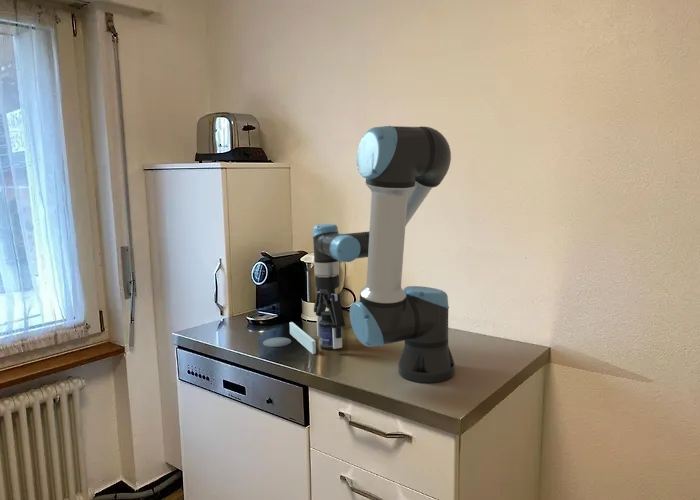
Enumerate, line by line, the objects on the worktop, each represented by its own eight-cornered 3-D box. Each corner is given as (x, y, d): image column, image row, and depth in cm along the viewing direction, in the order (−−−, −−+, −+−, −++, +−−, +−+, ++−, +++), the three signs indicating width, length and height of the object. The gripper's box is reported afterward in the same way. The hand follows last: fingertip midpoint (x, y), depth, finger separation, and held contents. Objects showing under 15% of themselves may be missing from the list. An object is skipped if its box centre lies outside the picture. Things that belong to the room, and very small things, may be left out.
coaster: (294, 344, 171) (294, 343, 171) (267, 348, 167) (267, 348, 167) (286, 336, 179) (286, 335, 179) (260, 340, 175) (259, 339, 175)
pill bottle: (336, 350, 164) (335, 315, 162) (317, 349, 165) (316, 315, 164) (341, 344, 170) (340, 310, 168) (322, 343, 171) (321, 309, 170)
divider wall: (315, 353, 162) (315, 341, 161) (312, 354, 161) (312, 341, 161) (292, 333, 182) (292, 322, 182) (289, 333, 182) (289, 322, 181)
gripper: (354, 280, 154) (356, 351, 157) (323, 267, 177) (326, 329, 180) (330, 283, 151) (333, 355, 155) (302, 269, 174) (305, 332, 177)
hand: (329, 341), depth 167 cm, fingers open, 13 cm apart
